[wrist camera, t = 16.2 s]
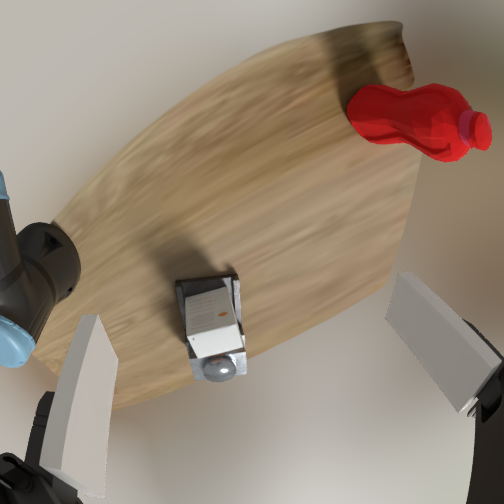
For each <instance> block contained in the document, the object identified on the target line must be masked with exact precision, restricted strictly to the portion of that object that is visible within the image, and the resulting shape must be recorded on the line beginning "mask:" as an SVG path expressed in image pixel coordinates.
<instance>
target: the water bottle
mask: <svg viewBox="0 0 504 504" xmlns="http://www.w3.org/2000/svg"><path fill="white" fill-rule="evenodd" d="M347 117H348V119H349V121H350V123H351V125H352V126H353V127H354V128H355V129H356V130H357V132H358V133H359V134H360V135H361V136H362V137H363V138H365V139H366V140H368V141H369V142H370V143H376V144H394V143H407V144H410V145H412V146H413V147H415V148H416V149H418V150H420V151H421V152H423V153H424V154H426V155H427V156H429V157H431V158H433V159H435V160H438V161H442V162H452V161H457V160H459V159H460V158H461V157H463V156H464V155H465V154H466V153H467V152H468V150H469V149H470V147H471V148H473V147H474V148H476V149H480V150H484V151H485V150H487V149H488V148H489V146H490V145H491V141H492V130H491V126H490V122H489V120H488V117H487V116H486V114H484V113H481V112H476V111H473V109H472V108H471V106H469V104H468V102H467V101H466V100H465V98H464V97H463V96H462V95H461V93H460V92H459V91H457V90H455V89H453V88H450V87H447V86H444V85H440V84H435V83H433V84H429V85H426V86H423V87H420V88H417V89H414V90H410V91H401V90H398V89H395V88H392V87H389V86H386V85H372V84H371V85H367V86H365V87H363V88H361V89H360V90H359V91H358V92H357V93H356V94H355V95H354V96H353V97H352V98H351V99H350V101H349V103H348V106H347Z"/></svg>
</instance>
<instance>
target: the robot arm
mask: <svg viewBox="0 0 504 504" xmlns="http://www.w3.org/2000/svg"><path fill="white" fill-rule="evenodd" d="M80 273H81V265H80V259H79V256H78V253H77V250H76V248H75V246H74V245H73V243H72V242H71V240H70V239H69V238H68V237H67V236H66V235H65V234H64V233H63V232H62V231H61V230H60V229H58V228H57V227H55V226H53V225H50V224H47V223H41V222H38V223H32V224H30V225H28V226H26V227H25V228H24V229H23V230H22V231H20V232H19V233H18V235H16V231H15V227H14V223H13V219H12V215H11V210H10V205H9V196H8V195H7V192H6V187H5V182H4V177H3V174H2V172H1V171H0V365H1V366H5V367H11V368H15V367H20V366H22V365H23V364H25V362H26V361H27V359H28V357H29V356H30V354H31V352H32V351H33V350H34V348H35V346H36V343H37V341H38V339H39V336H40V334H41V332H42V330H43V328H44V325H45V323H46V321H47V319H48V317H49V315H50V313H51V311H52V309H53V307H54V306H55V305H57V304H58V303H59V302H61V301H62V300H64V299H65V298H67V297H68V296H69V295H70V294H71V293H72V292H73V290H74V289H75V287H76V285H77V283H78V281H79V278H80ZM385 319H386V320H387V322H388V323H389V324H390V325H391V326H392V328H393V329H394V330H395V331H396V333H397V334H398V335H399V336H400V337H401V339H402V340H403V341H404V342H405V344H407V346H408V347H409V349H410V350H411V351H412V352H413V354H414V355H415V356H416V357H417V359H418V360H419V361H420V363H421V364H422V365H423V366H424V368H425V369H426V370H427V372H428V373H429V374H430V376H431V377H432V378H433V380H434V381H435V382H436V383H437V385H438V386H439V388H440V389H441V390H442V391H443V393H444V394H445V396H446V397H447V398H448V400H449V401H450V403H451V404H452V405H453V407H454V408H455V409H456V411H457V412H458V413H459V412H461V411H462V410H464V409H465V408H466V407H467V406H469V405H470V404H471V403H472V401H473V400H474V399H475V398H476V397H477V398H478V399H479V400H478V401H477V402H476V403H475V405H474V406H473V407H472V408H471V409H470V410H469V412H468V414H467V417H469V416H470V415H471V414H472V413H473V412H474V411H475V410H476V411H475V413H474V414H473V415H472V417H473V418H476V420H475V444H474V456H473V465H472V473H471V479H470V486H469V491H468V497H467V502H466V504H504V357H503V356H502V355H501V354H500V353H499V352H498V351H497V350H496V348H494V346H493V345H492V344H491V343H490V342H489V341H488V340H487V339H485V338H484V336H483V335H482V334H481V333H479V331H478V330H477V329H476V328H475V327H474V326H473V325H472V324H471V323H469V322H468V321H466V320H464V319H461V318H460V317H459V316H458V315H457V314H456V313H455V312H454V311H453V310H452V309H451V308H450V307H449V306H448V305H447V304H445V302H444V301H443V300H441V299H440V298H439V297H438V296H437V295H436V294H435V293H434V292H433V291H431V289H429V288H428V287H427V286H426V285H425V284H424V283H423V282H422V281H420V280H419V279H418V278H417V277H416V276H415V275H414V274H412V273H411V272H410V271H407V272H403V273H398V275H397V279H396V283H395V287H394V290H393V294H392V297H391V301H390V304H389V308H388V311H387V314H386V317H385ZM118 362H119V361H118V358H117V356H116V354H115V352H114V350H113V348H112V346H111V343H110V341H109V339H108V337H107V334H106V332H105V330H104V327H103V325H102V323H101V320H100V318H99V315H98V314H93V315H82V317H81V319H80V322H79V324H78V327H77V329H76V332H75V334H74V337H73V340H72V342H71V345H70V348H69V351H68V354H67V357H66V359H65V362H64V365H63V369H62V372H61V375H60V378H59V381H58V385H57V388H56V391H55V392H49V391H46V393H45V394H44V395H43V397H42V398H41V399H40V401H39V403H38V407H37V411H36V416H35V417H34V421H33V426H32V429H31V433H30V437H29V442H28V447H27V452H26V457H25V461H24V462H23V461H22V460H21V459H19V458H18V457H17V456H15V455H14V454H12V453H7V452H6V453H3V454H1V455H0V504H83V503H82V501H81V500H80V499H79V498H78V497H77V491H80V492H81V493H83V494H85V495H88V496H94V497H101V498H105V488H106V486H105V483H106V461H107V446H108V435H109V425H110V416H111V407H112V400H113V393H114V386H115V379H116V373H117V367H118Z"/></svg>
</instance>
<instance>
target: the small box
mask: <svg viewBox="0 0 504 504" xmlns="http://www.w3.org/2000/svg"><path fill="white" fill-rule="evenodd" d="M185 310H186V335H187V338H188V340H189V342H190V344H191V346H192V348H193V350H194V352H195V354H196V356H197V358H198V359H199V358H203V357H207V356H211V355H215V354H219V353H223V352H227V351H231V350H234V349H238V348H242V347H243V342H242V338H241V334H240V331H239V326H238V323H237V319H236V315H235V311H234V308H233V304H232V301H231V298H230V295H229V291H228V288H227V287H223V288H219V289H216V290H212V291H208V292H205V293H201V294H197V295H194V296H190V297H186V298H185Z"/></svg>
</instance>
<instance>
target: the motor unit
mask: <svg viewBox="0 0 504 504" xmlns="http://www.w3.org/2000/svg"><path fill="white" fill-rule="evenodd" d="M223 287H227V288H228V291H229V295H230V298H231V301H232V304H233V308H234V311H235V315H236V319H237V323H238V326H239V331H240V334H241V338H242V342H243V347H242V348H238V349H234V350H231V351H227V352H223V353H219V354H215V355H211V356H207V357H203V358H199V359H198V358H197V356H196V354H195V352H194V350H193V348H192V346H191V344H190V342H189V340H188V338H187V335H186V310H185V298H186V297H190V296H194V295H197V294H201V293H205V292H208V291H212V290H216V289H219V288H223ZM176 292H177V297H178V302H179V307H180V312H181V316H182V321H183V325H184V330H185V343H186V347H187V351H188V355H189V360H190V364H191V368H192V371H193V375H194V379H195V381H197V380H205V379H208V380H210V381H213V382H223V381H227V380H229V379H231V378H232V377H234V376H236V375H242V374H247V366H246V351H245V338H244V332H243V328H242V325H241V324H242V321H241V304H240V287H239V278H238V275H237V274H230V275H222V276H213V277H205V278H196V279H187V280H178V281H176Z"/></svg>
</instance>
